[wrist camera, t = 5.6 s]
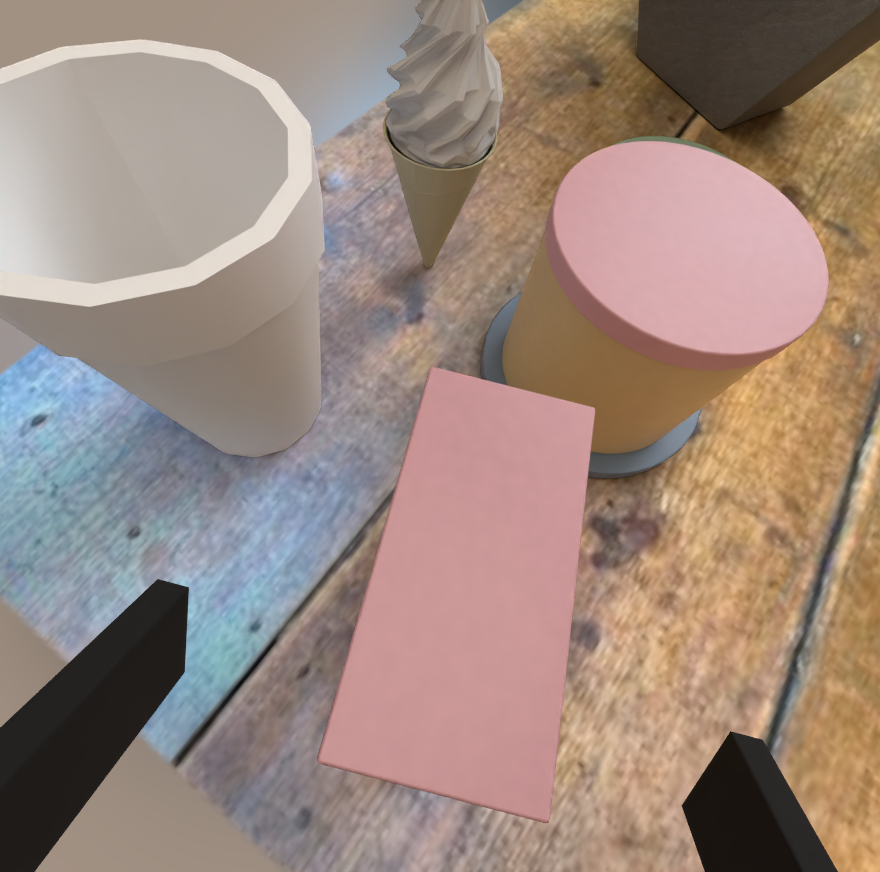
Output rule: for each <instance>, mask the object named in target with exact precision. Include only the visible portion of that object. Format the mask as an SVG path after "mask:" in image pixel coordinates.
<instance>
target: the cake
mask: <svg viewBox="0 0 880 872" xmlns="http://www.w3.org/2000/svg"><path fill="white" fill-rule="evenodd" d="M828 288H829V274H828V268H827V262H826V258H825V255H824V252H823V249H822V247H821V244H820V242H819V240H818V238H817V236H816V234H815V233H814V231H813V229H812V228H811V226H810V225H809V223H808V222H807V220H806V219H805V218H804V216H803V215H802V214H801V213H800V211H799V210H798V209H797V208H796V207H795V206H794V205H793V204H792V203H791V202H790V201H789V200H788V199H787V198H786V197H785V196H784V195H783V194H782V193H781V192H780V191H778V190H777V189H776V188H775V187H774V186H773V185H771V184H770V183H768V182H767V181H766V180H764V179H763V178H761V177H760V176H758V175H757V174H755V173H754V172H752V171H750V170H749V169H747V168H745V167H743V166H741V165H739V164H737V163H735V162H733V161H731V160H729V159H727V158H724V157H722V156H720V155H717V154H715V153H712V152H709V151H706V150H702V149H699V148H696V147H691V146H687V145H683V144H676V143H670V142H658V141H638V142H629V143H621V144H617V145H613V146H609V147H606V148H604V149H601V150H599V151H596V152H594V153H592V154H590V155H589V156H587V157H585V158H583V159H582V160H581V161H580V162H578V163H577V164H576V165H575V166H573V168H572V169H571V170H570V171H569V172H568V173H567V174H566V175H565V177H564V178H563V180H562V182H561V183H560V185H559V187H558V189H557V192H556V195H555V197H554V200H553V203H552V205H551V208H550V211H549V214H548V216H547V221H546V228H545V232H544V235H543V237H542V240H541V243H540V245H539V248H538V251H537V253H536V256H535V259H534V262H533V264H532V267H531V270H530V272H529V275H528V278H527V280H526V283H525V286H524V289H523V291H522V293H520V294H519V295H517V296H516V297H514V298H513V299H511V300H510V301H509V302H508V303H507V304H506V305H505V306H504V307H503V308H502V309H501V310H500V311H499V313H498V314H497V315H496V317H495V318H494V320H493V322H492V324H491V325H490V328H489V330H488V333H487V335H486V338H485V342H484V345H483V350H482V355H481V376H482V379H483V380H487V381H491V382H495V383H499V384H503V385H507V386H511V387H515V388H519V389H523V390H526V391H530V392H534V393H538V394H542V395H546V396H550V397H554V398H558V399H562V400H566V401H570V402H574V403H578V404H582V405H586V406H589V407H593V408H595V417H594V426H593V435H592V444H591V453H590V462H589V471H588V477H593V478H621V477H628V476H633V475H636V474H639V473H643V472H646V471H648V470H650V469H652V468H654V467H656V466H658V465H659V464H661V463H662V462H664V461H665V460H667V459H668V458H670V457H671V456H673V455H674V454H675V453H676V452H677V451H678V450H680V449H681V448H682V447H683V446H684V445H685V443H686V442H687V440H688V439H689V438H690V436H691V435H692V433H693V431H694V429H695V427H696V425H697V423H698V419H699V416H700V413H701V408H702V407H703V406H705V405H706V404H707V403H709V402H710V401H711V400H713V399H714V398H715V397H717V396H718V395H719V394H720V393H722V392H723V391H724V390H726V389H727V388H728V387H730V386H731V385H732V384H734V383H735V382H736V381H738V380H739V379H740V378H742V377H743V376H744V375H746V374H747V373H748V372H750V371H751V370H752V369H754V368H755V367H756V366H758V365H759V364H760V363H761V362H763V361H765V360H767V359H769V358H771V357H773V356H775V355H776V354H778V353H779V352H781V351H782V350H784V349H785V348H786V347H788V346H789V345H790V344H792V343H793V342H794V341H796V340H797V339H798V338H800V337H801V336H802V335H803V334H804V333H806V332H807V331H808V330H809V329H810V328H811V327H812V326H813V324H814V323H815V321H816V320H817V318H818V317H819V315H820V314H821V312H822V309H823V307H824V304H825V302H826V298H827V293H828Z"/></svg>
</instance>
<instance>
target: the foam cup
mask: <svg viewBox="0 0 880 872" xmlns="http://www.w3.org/2000/svg"><path fill="white" fill-rule="evenodd" d="M324 251H325V248H324V225H323V202H322V194H321V188H320V181H319V175H318V169H317V163H316V157H315V150H314V144H313V138H312V132H311V126H310V124H309V123H308V121H307V120H306V119H305V118H304V116H303V115H302V114H301V113H300V111H299V110H298V109H297V107H296V106H295V105H294V103H293V102H292V101H291V100H290V98H289V97H288V96H287V95H286V93H285V92H284V90H283V89H282V88H281V87H280V85H279V84H278V83H277V82H276V80H274V79H271V78H270V77H268V76H266V75H264V74H262V73H260V72H258V71H256V70H253V69H252V68H250V67H248V66H246V65H244V64H242V63H240V62H238V61H236V60H234V59H232V58H230V57H228V56H226V55H224V54H222V53H220V52H218V51H214V50H213V51H212V50H206V49H201V48H194V47H188V46H182V45H175V44H169V43H163V42H156V41H150V40H144V39H140V40H130V41H119V42H110V43H98V44H89V45H78V46H67V47H60V48H57V49H54V50H51V51H49V52H46V53H43V54H40V55H38V56H35V57H32V58H29V59H26V60H24V61H21V62H18V63H15V64H13V65H10V66H7V67H4V68H1V69H0V318H2V319H3V320H5V321H7V322H8V323H10V324H11V325H13V326H14V327H16V328H17V329H19V330H20V331H22V332H23V333H25V334H27V335H28V336H30V337H31V338H33V339H34V340H36V341H37V342H39V343H40V344H42V345H43V346H45V347H46V348H48V349H50V350H51V351H53V352H54V353H56V354H57V355H59V356H66V357H74V358H78V359H79V360H81V361H83V362H84V363H86V364H87V365H89V366H90V367H92V368H93V369H95V370H96V371H98V372H100V373H101V374H103V375H104V376H106V377H107V378H109V379H110V380H112V381H113V382H115V383H117V384H118V385H120V386H121V387H123V388H124V389H126V390H127V391H129V392H131V393H132V394H134V395H135V396H137V397H138V398H140V399H141V400H143V401H144V402H146V403H148V404H149V405H151V406H152V407H154V408H155V409H157V410H158V411H160V412H162V413H163V414H165V415H166V416H168V417H169V418H171V419H172V420H174V421H175V422H177V423H179V424H180V425H182V426H183V427H185V428H186V429H188V430H189V431H191V432H192V433H194V434H196V435H197V436H199V437H200V438H202V439H203V440H205V441H206V442H208V443H210V444H211V445H213V446H214V447H216V448H217V449H219V450H220V451H223V452H224V453H226V454H231V455H239V456H247V457H256V458H257V457H260V456H264V455H267V454H271V453H274V452H278V451H281V450H285V449H287V448H288V447H290V446H291V445H292V444H293V443H295V442H296V441H297V440H298V439H300V438H301V437H302V436H303V435H305V434H306V433H307V432H308V431H310V429H311V427H312V425H313V423H314V421H315V419H316V417H317V415H318V413H319V411H320V409H321V407H322V405H321V401H322V391H321V351H320V311H319V271H318V261H319V259H320V258H321V256H322V254H323V252H324Z"/></svg>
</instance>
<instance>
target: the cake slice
mask: <svg viewBox="0 0 880 872" xmlns="http://www.w3.org/2000/svg"><path fill="white" fill-rule="evenodd" d="M594 417H595V408H593V407H589V406H586V405H582V404H578V403H574V402H570V401H566V400H562V399H558V398H554V397H550V396H546V395H542V394H538V393H534V392H530V391H526V390H523V389H519V388H515V387H511V386H507V385H503V384H499V383H495V382H491V381H487V380H483V379H479V378H475V377H471V376H467V375H463V374H460V373H456V372H452V371H448V370H444V369H440V368H436V367H431V368H430V370H429V373H428V376H427V380H426V383H425V387H424V390H423V394H422V397H421V401H420V404H419V407H418V411H417V414H416V418H415V421H414V425H413V428H412V432H411V435H410V439H409V442H408V445H407V449H406V452H405V456H404V459H403V463H402V466H401V470H400V473H399V476H398V480H397V483H396V487H395V490H394V494H393V497H392V501H391V504H390V508H389V511H388V514H387V518H386V521H385V525H384V528H383V532H382V535H381V539H380V542H379V545H378V549H377V552H376V556H375V559H374V563H373V566H372V570H371V573H370V577H369V580H368V583H367V587H366V590H365V594H364V597H363V601H362V604H361V608H360V611H359V614H358V618H357V621H356V625H355V628H354V632H353V635H352V639H351V642H350V646H349V649H348V652H347V656H346V659H345V663H344V666H343V670H342V673H341V677H340V680H339V683H338V687H337V690H336V694H335V697H334V701H333V704H332V708H331V711H330V715H329V718H328V721H327V725H326V728H325V732H324V735H323V739H322V742H321V746H320V749H319V752H318V756H317V762H319V763H320V764H323V765H327V766H331V767H335V768H338V769H342V770H346V771H350V772H354V773H357V774H361V775H365V776H369V777H373V778H376V779H380V780H384V781H388V782H391V783H395V784H399V785H403V786H407V787H410V788H414V789H418V790H422V791H426V792H429V793H433V794H437V795H441V796H444V797H448V798H452V799H456V800H460V801H463V802H467V803H471V804H475V805H479V806H482V807H486V808H490V809H494V810H497V811H501V812H505V813H509V814H513V815H516V816H520V817H524V818H528V819H532V820H535V821H539V822H543V823H548V822H549V820H550V812H551V803H552V794H553V785H554V776H555V767H556V758H557V749H558V740H559V731H560V722H561V714H562V705H563V696H564V687H565V678H566V669H567V660H568V651H569V642H570V633H571V624H572V615H573V606H574V597H575V588H576V579H577V570H578V561H579V552H580V543H581V534H582V525H583V516H584V507H585V498H586V489H587V480H588V471H589V462H590V453H591V444H592V435H593V426H594Z"/></svg>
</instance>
